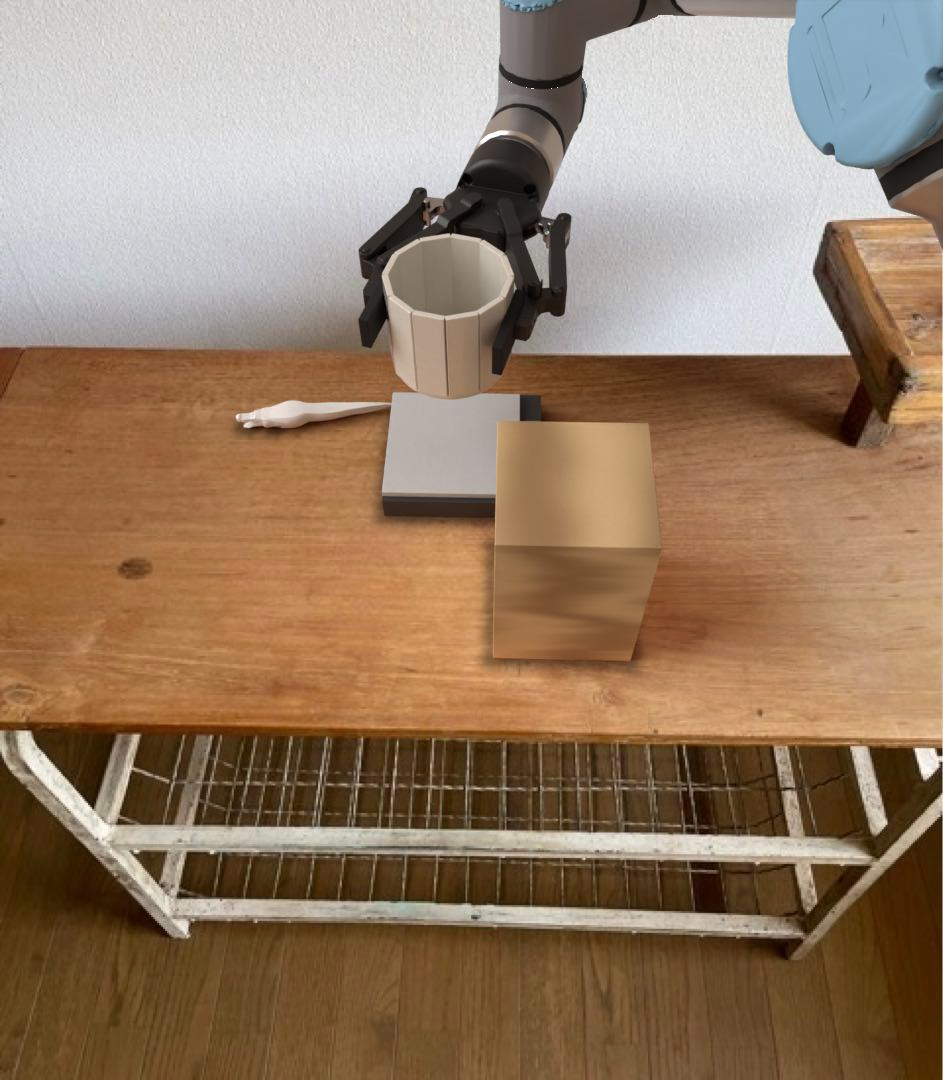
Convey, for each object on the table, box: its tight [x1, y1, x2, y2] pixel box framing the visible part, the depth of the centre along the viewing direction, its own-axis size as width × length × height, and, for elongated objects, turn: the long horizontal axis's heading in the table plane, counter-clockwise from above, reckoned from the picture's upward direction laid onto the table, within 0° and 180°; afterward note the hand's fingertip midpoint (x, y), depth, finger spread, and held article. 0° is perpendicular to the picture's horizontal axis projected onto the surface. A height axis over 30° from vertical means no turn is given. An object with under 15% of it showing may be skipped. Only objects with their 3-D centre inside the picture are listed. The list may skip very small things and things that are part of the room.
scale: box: [381, 391, 542, 519], centre depth 84 cm, size 14×13×3 cm
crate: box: [492, 421, 663, 662], centre depth 70 cm, size 11×11×16 cm
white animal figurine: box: [235, 399, 392, 429], centre depth 87 cm, size 15×3×2 cm, turn 98°
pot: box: [382, 233, 515, 400], centre depth 71 cm, size 10×10×8 cm
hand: (429, 347), depth 68 cm, fingers closed on pot, 10 cm apart
